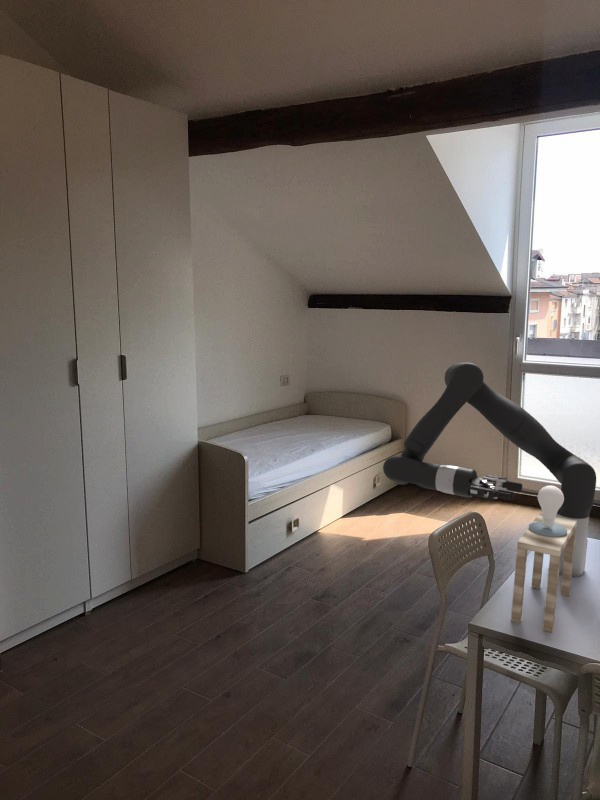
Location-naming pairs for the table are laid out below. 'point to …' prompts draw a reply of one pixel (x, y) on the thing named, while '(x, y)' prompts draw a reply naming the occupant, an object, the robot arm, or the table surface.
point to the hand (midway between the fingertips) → (517, 491)
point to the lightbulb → (550, 504)
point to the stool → (542, 543)
